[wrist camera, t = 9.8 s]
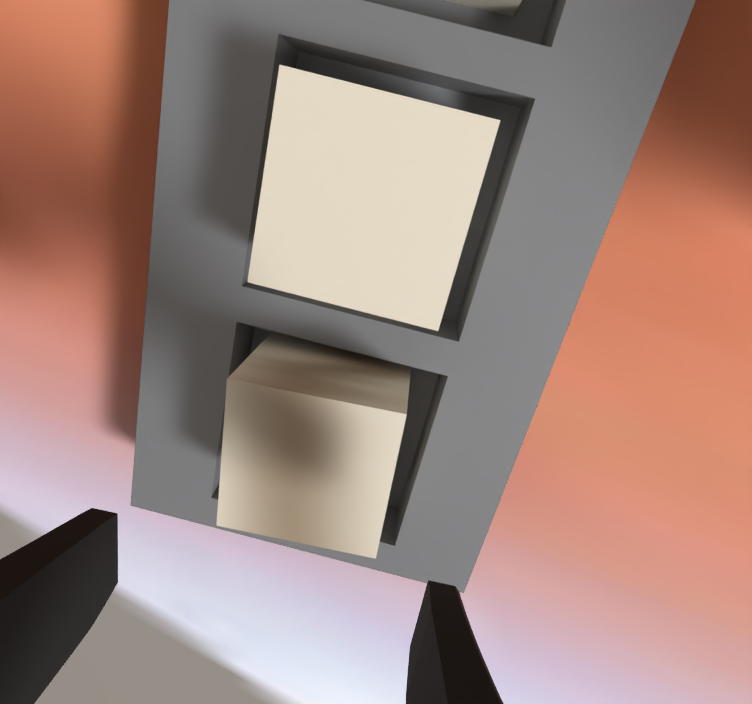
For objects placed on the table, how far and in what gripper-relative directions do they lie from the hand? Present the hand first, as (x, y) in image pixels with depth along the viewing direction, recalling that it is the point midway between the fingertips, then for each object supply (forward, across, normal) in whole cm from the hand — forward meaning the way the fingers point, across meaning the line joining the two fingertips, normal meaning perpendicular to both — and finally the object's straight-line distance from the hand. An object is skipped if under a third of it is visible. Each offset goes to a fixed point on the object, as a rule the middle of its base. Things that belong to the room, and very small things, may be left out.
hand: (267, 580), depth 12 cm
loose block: (+9, 0, 0) cm, 9 cm away
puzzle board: (+9, 0, -8) cm, 12 cm away
